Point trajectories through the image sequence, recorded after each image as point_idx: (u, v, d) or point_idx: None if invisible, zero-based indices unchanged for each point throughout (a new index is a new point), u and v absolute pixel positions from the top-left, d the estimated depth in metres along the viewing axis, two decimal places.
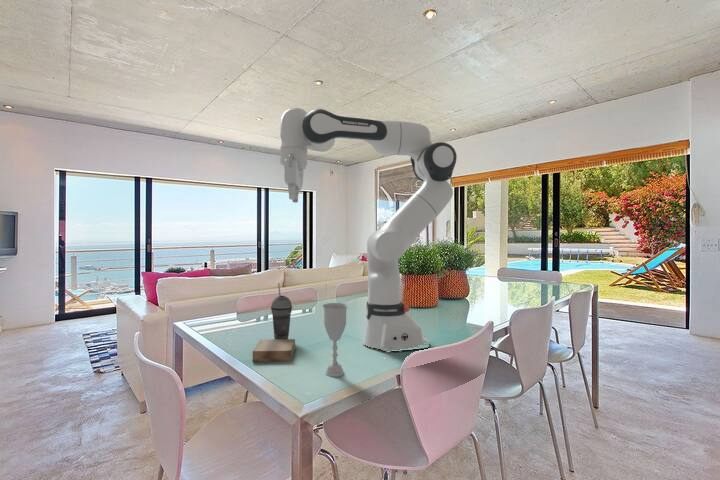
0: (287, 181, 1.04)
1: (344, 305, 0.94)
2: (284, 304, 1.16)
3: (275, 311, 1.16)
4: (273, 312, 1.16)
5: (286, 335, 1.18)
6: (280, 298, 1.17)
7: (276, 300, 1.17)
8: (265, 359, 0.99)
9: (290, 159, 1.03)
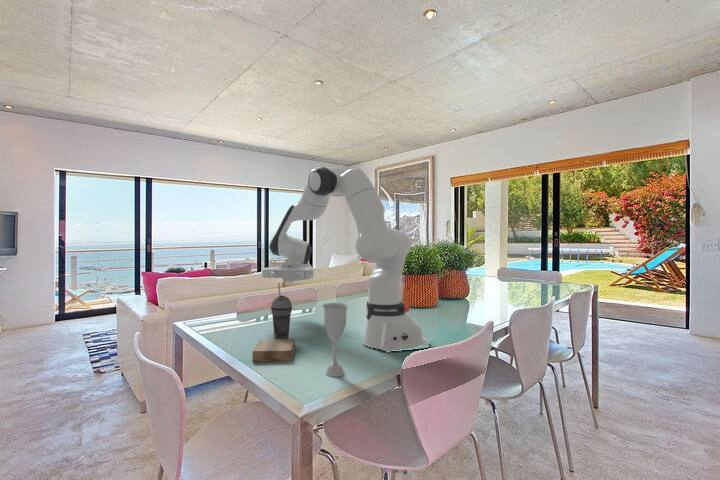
0: (262, 275, 1.35)
1: (344, 305, 0.94)
2: (284, 304, 1.16)
3: (275, 311, 1.16)
4: (273, 312, 1.16)
5: (286, 335, 1.18)
6: (280, 298, 1.17)
7: (276, 300, 1.17)
8: (265, 359, 0.99)
9: None
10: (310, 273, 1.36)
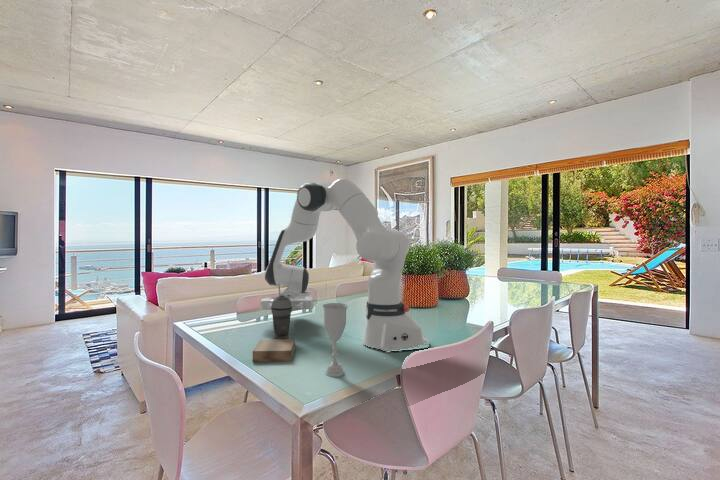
0: (261, 307, 1.31)
1: (344, 305, 0.94)
2: (284, 304, 1.16)
3: (275, 311, 1.16)
4: (273, 312, 1.16)
5: (286, 335, 1.18)
6: (280, 298, 1.17)
7: (276, 300, 1.17)
8: (265, 359, 0.99)
9: None
10: (309, 304, 1.32)
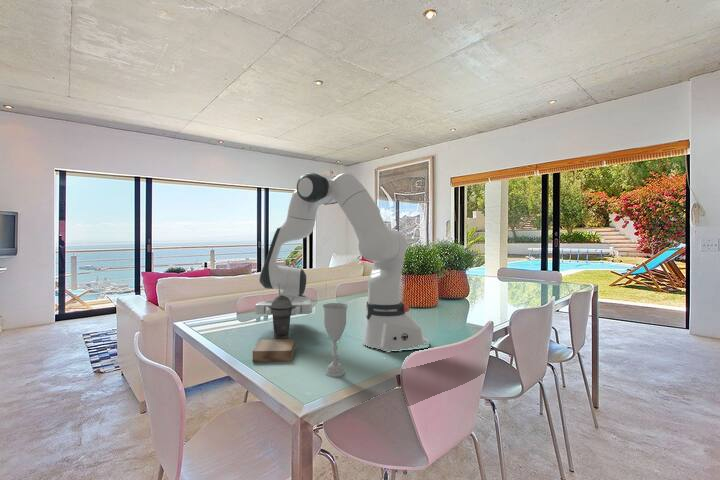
0: (255, 311, 1.22)
1: (344, 305, 0.94)
2: (284, 304, 1.16)
3: (275, 311, 1.16)
4: (273, 312, 1.16)
5: (286, 335, 1.18)
6: (280, 298, 1.17)
7: (276, 300, 1.17)
8: (265, 359, 0.99)
9: None
10: (308, 308, 1.23)
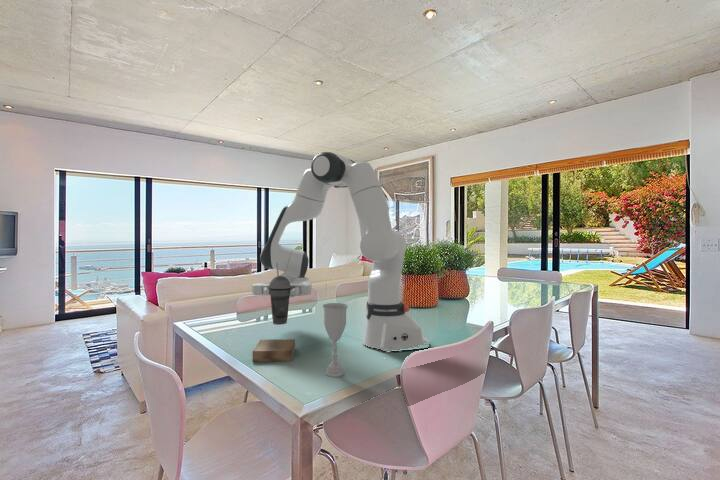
0: (253, 292, 1.17)
1: (344, 305, 0.94)
2: (283, 284, 1.11)
3: (273, 291, 1.11)
4: (271, 293, 1.11)
5: (285, 317, 1.13)
6: (278, 278, 1.12)
7: (274, 280, 1.12)
8: (265, 359, 0.99)
9: None
10: (307, 289, 1.18)
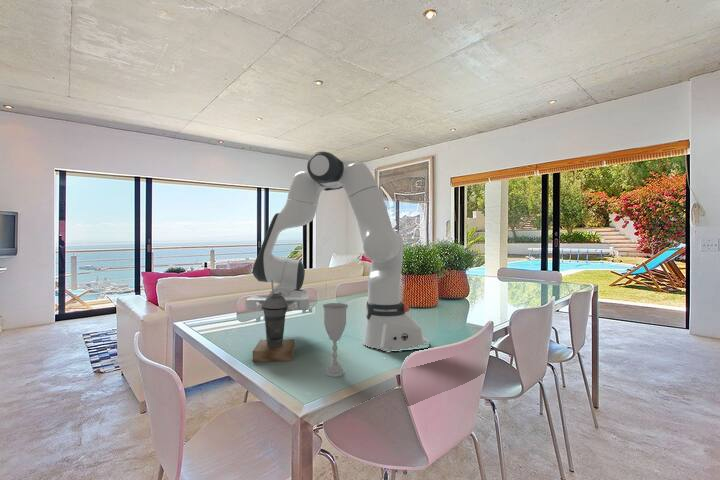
0: (246, 307, 1.08)
1: (344, 305, 0.94)
2: (278, 303, 1.02)
3: (267, 311, 1.02)
4: (265, 312, 1.02)
5: (280, 339, 1.04)
6: (273, 297, 1.03)
7: (269, 298, 1.03)
8: (265, 359, 0.99)
9: None
10: (305, 304, 1.09)
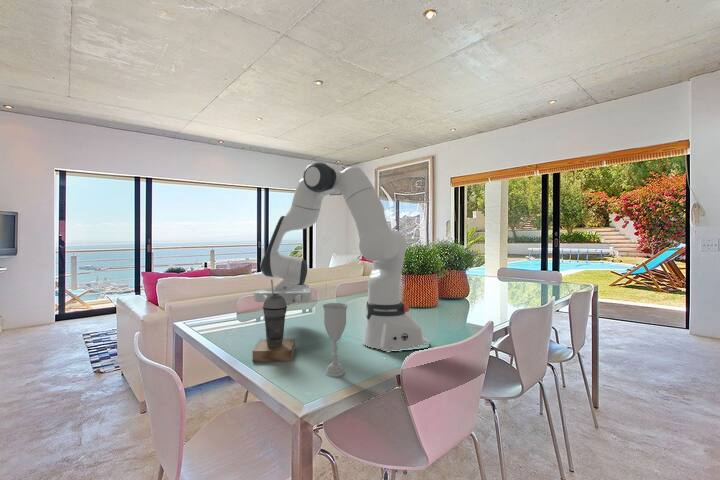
0: (255, 299, 1.21)
1: (344, 305, 0.94)
2: (278, 304, 1.02)
3: (267, 311, 1.02)
4: (265, 312, 1.02)
5: (280, 339, 1.04)
6: (273, 297, 1.03)
7: (269, 298, 1.03)
8: (265, 359, 0.99)
9: None
10: (307, 296, 1.22)
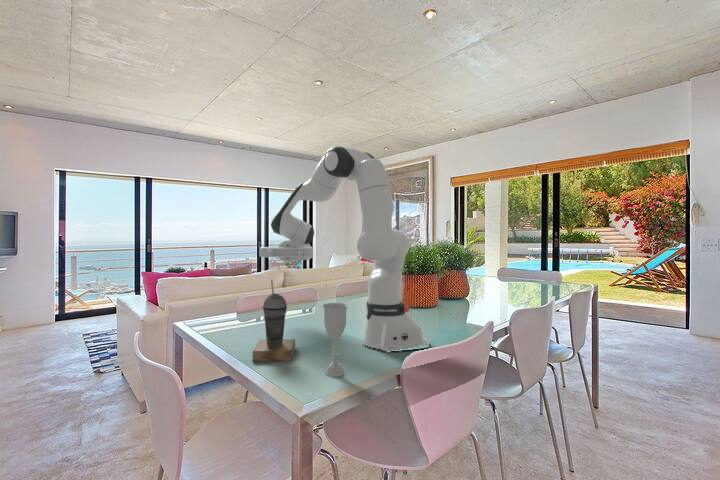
0: (260, 254, 1.29)
1: (344, 305, 0.94)
2: (278, 304, 1.02)
3: (267, 311, 1.02)
4: (265, 312, 1.02)
5: (280, 339, 1.04)
6: (273, 297, 1.03)
7: (269, 298, 1.03)
8: (265, 359, 0.99)
9: None
10: (309, 252, 1.30)
